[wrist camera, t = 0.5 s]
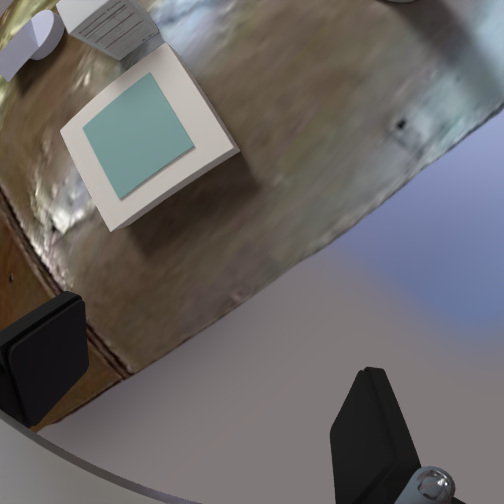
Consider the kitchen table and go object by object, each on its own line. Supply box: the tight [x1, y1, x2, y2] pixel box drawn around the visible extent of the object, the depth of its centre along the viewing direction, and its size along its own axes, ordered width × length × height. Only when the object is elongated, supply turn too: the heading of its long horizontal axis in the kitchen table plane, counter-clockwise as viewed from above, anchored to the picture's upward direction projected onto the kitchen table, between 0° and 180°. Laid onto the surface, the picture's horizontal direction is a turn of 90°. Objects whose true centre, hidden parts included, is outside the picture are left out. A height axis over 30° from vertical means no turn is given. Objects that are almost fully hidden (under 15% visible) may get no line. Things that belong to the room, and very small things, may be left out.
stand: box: [60, 42, 240, 232], centre depth 35 cm, size 18×16×5 cm
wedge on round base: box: [0, 10, 65, 82], centre depth 31 cm, size 9×7×13 cm
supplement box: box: [56, 0, 159, 61], centre depth 27 cm, size 7×7×13 cm
